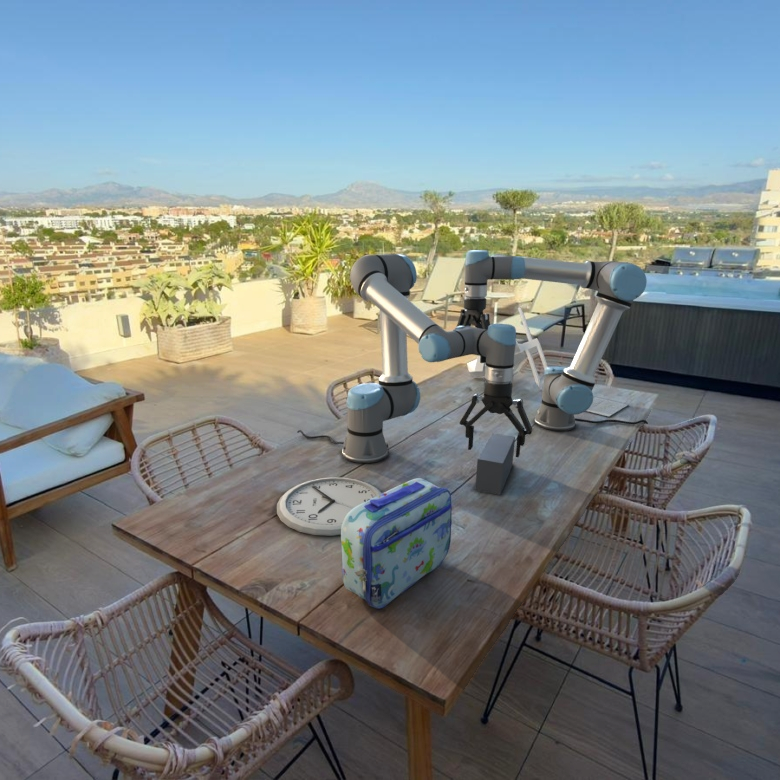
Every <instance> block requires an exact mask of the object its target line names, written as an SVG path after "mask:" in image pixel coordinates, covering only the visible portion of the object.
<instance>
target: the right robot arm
mask: <svg viewBox="0 0 780 780" xmlns="http://www.w3.org/2000/svg"><path fill="white" fill-rule="evenodd" d="M489 253H490V252H489V251H488V250H485V249H484V250H483V249H482V250H480V249H479V250H478V249H477V250H476V249H473V250H468V251H467V252H466V253H465V263H464V288H463V289H464V298H463V308H462V309H460V314H459V318H458V320H457V324H456V327H457V326H471V327H472V326H474V328H480V329H485V330H488V327H489V325H491V321H490V314H489V313H484V310H486V309H487V296H488V281H491V280H512V281H515V280H522V279H523V280H532V281H540V282H541V281H542V282H550V283H557V284H558V283H559V284H567V285H578V286H580V287H581V289H588V290H593V291H596V292H597V293H596V295H595V298H596V301H597V304H596V306H595V308H594V311H593V314H592V316H591V317H590V320H589V323H588V324H587V327H586V330H585V332H584V333H583V336H582V338H581V341H580V343H579V345H578V347H577V350H576V351H575V354H574V357H573V359H572V361H571V363H570V366H548V368H546V369H544V374H543V381H542V382H543V384H542V394H541V402H540V405H539V407H538V409H537V410H536V413H535V416H534V424H535V425H536V426H537V427H539V428H542V429H544V430H549V431H556V432H567V431H572V430H574V429H575V428H576V422H582V423H588V424H596V425H597V424H605V423H619V424H625V425H638V424H642V423H644V424H645V425H649V422H648V421H647V420H646V419H640V420H637V421H626V420H621V419H602V420H589V419H585V418H584V419H582V418H577V417H576V415H581V414H582V413H585V412H587V411H586V410H588V409H589V407H590V406H591V405H592V402H593V398H594V393H593V389H594V387H595V385H596V383H597V381H596V379H595V375H596V371H597V369H598V367H599V365H600V363H601V361H602V358H603V356H604V354H605V352H606V350H607V348H608V345H609V343H610V341H611V340H612V336H613V334H614V333H615V330H616V328H617V325H618V324H619V321H620V319H621V317H622V314H623V313H624V312H625V311H627V310H629V309H631V307H632V304H633V302H634V300H636V299H637V298H640V297H641V296H642V295H643V293H644V292H645V290H646V288H647V281H648V280H647V276H646V273H645V271H644V270H643V269H642V268H641V267H640V266H639V265H637V264H634V263H631V262H628V261H627V262H624V261H618V260H617V261H616V260H606V261H595V260H594V261H591V260H586V261H585V262H574V261H565V260H557V259H547V258H536V257H528V256H517V255H509V254H503V253H495V254H493V255H490V254H489ZM480 363H486V357H483V356H480ZM575 417H576V418H575Z"/></svg>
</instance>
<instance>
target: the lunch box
mask: <svg viewBox="0 0 780 780" xmlns="http://www.w3.org/2000/svg"><path fill="white" fill-rule="evenodd" d="M451 539H452V494H451V491H450V490H449V488H446V487H439V486H437V485H435V484H434V483H432V482H430V481H428V480H426V479H424V478H421V477H416V478H413V479H410V480H408V481H405V482H403V483H402V484H398V485H397V486H395V487H392V488H390V489H389V490H386V491H384V492H382V494H380V495H378V496H376V497H374V498H372V499H370V500H368V501H366V502H364V503H362V504H360V505H358V506H356V507H354V508H353V509H351V510H350V511H349V512H348V514H347V515H346V517H345V518H344V520H343V523H342V528H341V535H340V546H341V569H342V570H341V571H342V582H343V585H344V588H345V589H346V590H347V591H349V592H351V593H353V594H355V595H356V596H358V597H359V598H361V599H362V600H364V601H365V602H366V603H367V605H368V606H370V607H372V608H374V609H378V610H379V609H380V610H381V609H383V608H384V607H387V605H389V604H390V603H391V602H392V601H393V600H395V599H396V598H397V597H399V596H400V595H402V594H403V593H404V592H405V591H407V590H408V589H409V588H411V587H412V586H413V585H415V584H416V583H418V581H419V580H420V579H421V578H423V577H425V576H427V575H428V574H429V573H431V572H432V571H434V570H435V569H437V568H438V567H439V566H441V564H442V563H443V562H444V561H445V559H446V557H447V556H448V554H449V550H450V547H451V541H452V540H451Z"/></svg>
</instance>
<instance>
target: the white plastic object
mask: <svg viewBox="0 0 780 780" xmlns="http://www.w3.org/2000/svg"><path fill="white" fill-rule="evenodd" d="M517 310H518V314H519V316H520V319H521V322H522V325H523V328H524V332H525V334H526V338H527V341H525V342H523V343H519V342H518V341H517V339H516V345H515V353H514V367H516V366H517V365H519V363H521V362H522V361H524V360H525V359H526V358H527V359H528V363H529V367H530V369H531V372H532V375H533V378H534V381H535V384H536V385H537V386H538V388H539V389H540V391H543V384H542V382H541V380H540V376H539V374H538V370H537V367H536V365H535V361H534V358H533V355H534V354H536V353H538V355H539V357H540V360H541V363H542V367H543V369H544V370H545V369H546V368H548V367H549V366H548V363H547V359H546V357H545V353H544V350H543V348H542V345H541V342H540V340H539V339H538V338H537V337H535V338H533V336H532V334H531V331H530V328H529V325H528V322H527V319H526V316H525V313H524V311H523V309H522V307H520V306H519V307H517ZM466 366H467V369H468V373H469V374H470V376H471V377H472V378H480V377H485V370H486V363H480V356H478V355H476V359H474V360H472V361H470V362H467V363H466Z"/></svg>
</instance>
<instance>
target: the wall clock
mask: <svg viewBox="0 0 780 780" xmlns="http://www.w3.org/2000/svg"><path fill="white" fill-rule="evenodd" d="M382 493H383V492H382V491H381V490H380V489H379V488H377V487H376V486H374V485H372V484H371V483H369V482H365V481H362V480H359V479H355V478H349V477H338V476H337V477H335V476H333V477H332V476H331V477H322V478H317V479H312V480H307V481H305V482H302V483H299V484H297V485H295V486H293V487H292V488H290V489H288V490H287V491H286V492H285V493H284V494H283V495H281V496H280V498H279V499H278V502H277V503H276V515H277V517H278V518H279V520H280V521H281V522H282V523H283V524H285V525H286V526H287V527H288V528H290V529H293V530H295V531H297V532H299V533H303V534H308V535H312V536H327V537H328V536H329V537H331V536H332V537H333V536H341V528H342V523H343V520H344V518H345V517H346V515H347V514H348V512H349V511H350V510H351V509H353V508H354V507H356V506H358V505H360V504H362V503H364V502H366V501H368V500H370V499H372V498H374V497H376V496H378V495H380V494H382Z"/></svg>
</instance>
